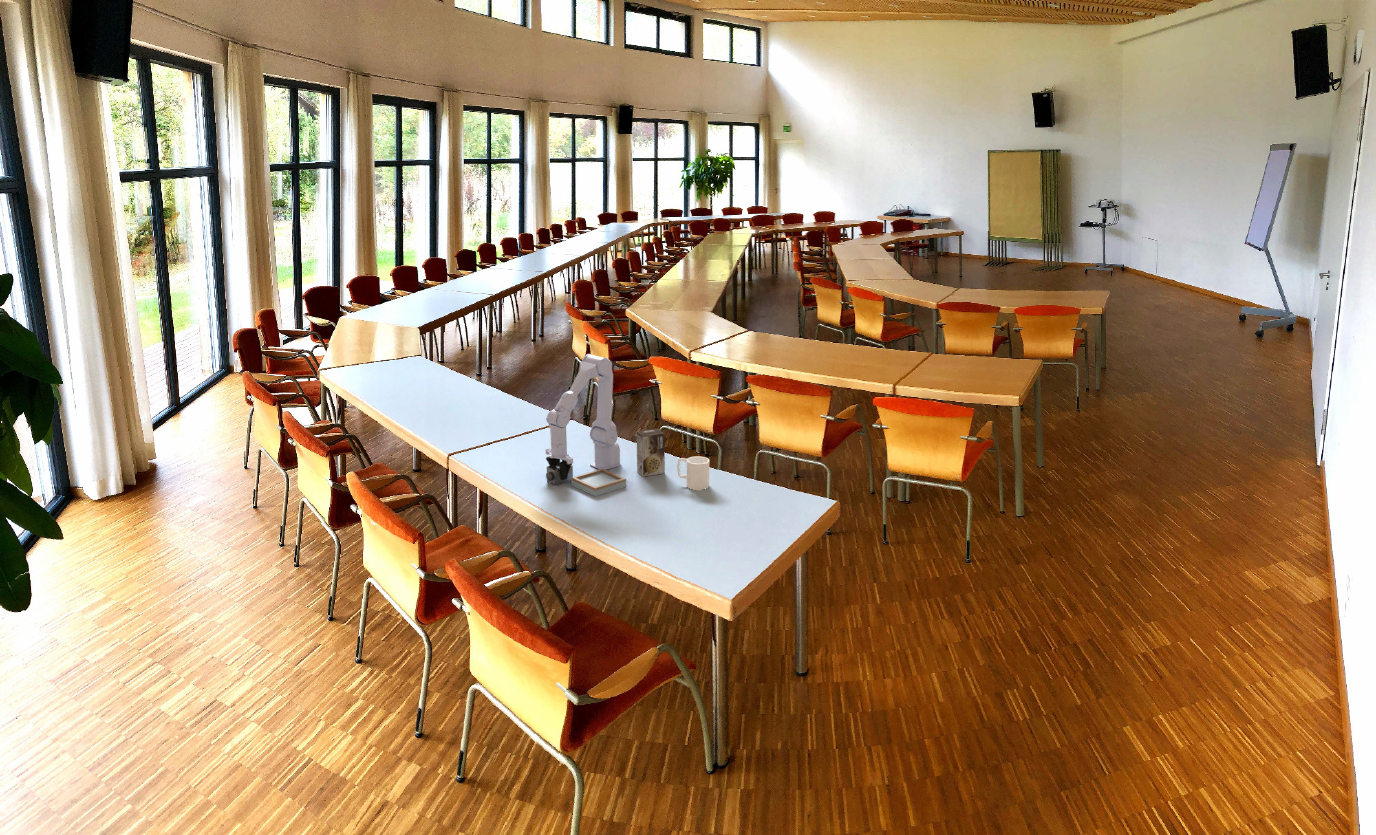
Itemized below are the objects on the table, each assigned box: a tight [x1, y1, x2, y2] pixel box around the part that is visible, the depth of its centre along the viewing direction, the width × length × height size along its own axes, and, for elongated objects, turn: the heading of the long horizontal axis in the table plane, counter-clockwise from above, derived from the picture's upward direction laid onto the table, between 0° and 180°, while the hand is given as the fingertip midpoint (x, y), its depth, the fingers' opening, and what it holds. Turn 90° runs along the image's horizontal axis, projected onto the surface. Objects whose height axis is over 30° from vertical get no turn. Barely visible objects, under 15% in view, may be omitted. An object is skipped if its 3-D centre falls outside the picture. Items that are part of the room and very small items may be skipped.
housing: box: [545, 464, 574, 487], centre depth 322 cm, size 9×5×6 cm, turn 133°
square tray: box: [571, 469, 627, 497], centre depth 319 cm, size 14×14×3 cm
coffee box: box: [636, 428, 666, 478], centre depth 330 cm, size 9×6×16 cm
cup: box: [676, 455, 710, 491], centre depth 319 cm, size 8×12×10 cm
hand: (559, 477), depth 323 cm, fingers closed on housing, 5 cm apart
